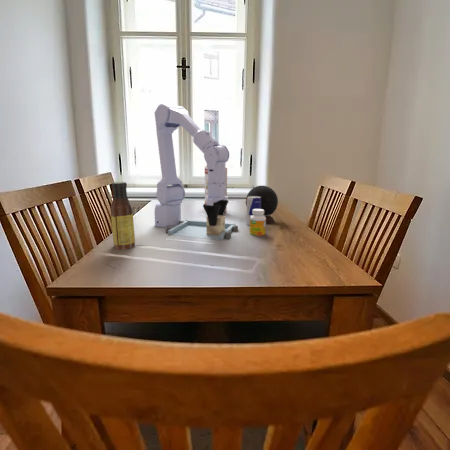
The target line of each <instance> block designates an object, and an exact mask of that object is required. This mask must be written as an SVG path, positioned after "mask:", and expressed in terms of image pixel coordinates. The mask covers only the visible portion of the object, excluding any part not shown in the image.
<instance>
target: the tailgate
mask: <svg viewBox="0 0 450 450" xmlns="http://www.w3.org/2000/svg"><path fill="white" fill-rule="evenodd" d="M164 240H165V241H173V242H182V243H195V244H202V245H203V244H204V245H215V243H214V242H207V241H205V242H204V241H199V240H196V241H195V240H187V239H176V238H165V239H164Z"/></svg>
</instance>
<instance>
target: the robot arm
mask: <svg viewBox="0 0 450 450" xmlns="http://www.w3.org/2000/svg"><path fill="white" fill-rule="evenodd" d="M154 118H155V119H154V120H155V128H156V129H155V131H156V137H157V139H156V140H157V147H158V148H157V149H158V156H159V161H160V171H161V179H160V180H159V181H158V182H157V183H156V199H157V202H158V203H156V204H155V205H154V227H159V228H160V227H161V228H162V227H163V228H167V227H169V226H177V225H178V222H179V221H182V211H181V210H182V203H183V201H184V199H185V198H186V189H185V188H184V185H183V181H182V180H181V179H180V178H179V177H178V175H177V168H176V166H177V165H176V160H175V159H176V158H175V150H174V141H173V134H174V132H175V131H176V130H178V129H179V128H180V127H182V128H183V129H184V131H186V132H187V133H188V134H189V135H190V136H192V141H193V144H194V145H195V146H196V147H197V148H198V149H199V151H201V152H202V153H203V159H204V161H205V163H206V166H207V168H208V196H207V204H205V203H203V204H202V207H203V209H204V211H205V214H206V218H207V217H208V222H209V225H210V226H216V223H217V217H218V215H225V213H226V212H225V208H226V206H228V204H229V200H228V199H229V196H228V195H227V196H225V168H226V163H227V162H229V159H230V151H229V149H228V148H227V146H226V145H224V144H223V145H221V144H220V143H219V142H218V140H216V139H214V137H213V136H212V135H211V132H210V131H209V130H205V129H201V128H200V127H199V126H198V125H197V123H195V121H194V120H193V118H192V117H191V116H190V115H189V111H188V110H186V108H185V107H184V106H183V105H174V104H173V105H172V104H165V103H159V104H158V106H157V108H156V109H155V111H154ZM224 199H227V200H224Z"/></svg>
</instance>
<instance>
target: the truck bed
mask: <svg viewBox="0 0 450 450" xmlns="http://www.w3.org/2000/svg"><path fill="white" fill-rule="evenodd" d="M238 230H239V226H238V225H236V223H232V222H231V223H230V222H225V231H224V232H223V233H221V234H220V235H219V236H217V235H206V233H207V220H205V221H204V220H191V219H185V220H181V221H179V222H178V225H174V227H172V226H166V228H165V234H167V235H168V236H177V237H178V236H179V237H188V238H195V239H196V238H198V239H207V240H208V239H209V240H217V241H219V240H220V241H223V240H230V239H231V237H232V232H233V233H236V232H237V231H238Z"/></svg>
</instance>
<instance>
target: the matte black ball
mask: <svg viewBox="0 0 450 450" xmlns="http://www.w3.org/2000/svg"><path fill="white" fill-rule="evenodd" d="M248 196H259V197H261V209H263V210H264V214H263V216H265V217H266V225H272V224H275V219H274V217H273V216H271V215H273V214H274V213H275V212H276V210H277V208H278V205H279V198H278V195H277V193H276V191H275V190H274V189H272V187H269V186H267V185H256V186H254V187H253V188H251V189H250V190H249V191H248V193H247V194H246V198H245V205H246V207H247V198H248Z"/></svg>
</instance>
